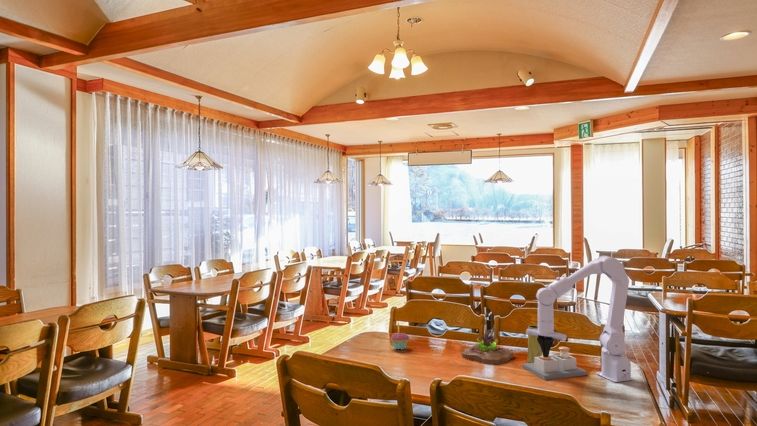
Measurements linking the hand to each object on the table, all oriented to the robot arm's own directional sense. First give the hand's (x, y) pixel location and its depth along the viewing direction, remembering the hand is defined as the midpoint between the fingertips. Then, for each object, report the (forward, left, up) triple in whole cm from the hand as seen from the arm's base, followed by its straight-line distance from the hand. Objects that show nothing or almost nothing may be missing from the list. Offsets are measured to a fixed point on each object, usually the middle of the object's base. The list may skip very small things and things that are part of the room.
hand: (545, 356), depth 173 cm
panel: (+1, -4, -6) cm, 7 cm away
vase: (+13, -4, -6) cm, 15 cm away
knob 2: (0, -8, -2) cm, 8 cm away
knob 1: (0, 0, -5) cm, 5 cm away
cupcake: (+46, +43, -6) cm, 63 cm away
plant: (+25, +10, -7) cm, 28 cm away
